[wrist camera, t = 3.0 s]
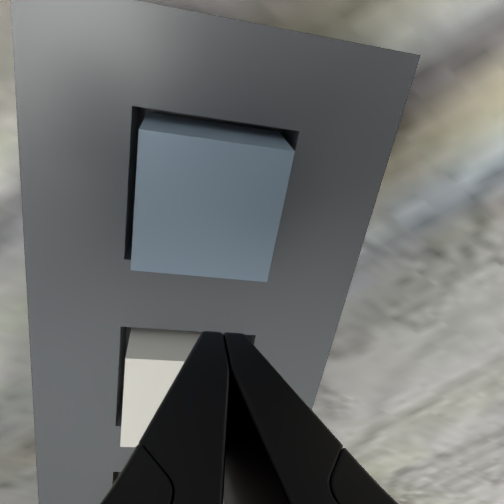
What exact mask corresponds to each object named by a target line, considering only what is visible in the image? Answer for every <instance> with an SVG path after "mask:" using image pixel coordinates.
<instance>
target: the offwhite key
mask: <svg viewBox="0 0 504 504" xmlns="http://www.w3.org/2000/svg"><path fill="white" fill-rule="evenodd" d="M201 333H202V332H197V331H181V330H166V329H150V328H135V327H131V332H130V337H129V342H128V347H127V352H126V357H125V372H124V389H123V406H122V423H121V439H120V447H136V446H137V445H138V444H139V441H140V439H141V437H142V436H143V434H144V432H145V430H146V429H147V427H148V425H149V423H150V422H151V420H152V418H153V416H154V415H155V413H156V411H157V409H158V408H159V406H160V404H161V402H162V401H163V399H164V397H165V395H166V394H167V392H168V390H169V388H170V387H171V385H172V383H173V381H174V380H175V378H176V376H177V374H178V373H179V371H180V369H181V367H182V366H183V364H184V362H185V360H186V359H187V357H188V355H189V353H190V352H191V350H192V348H193V346H194V345H195V343H196V341H197V339H198V338H199V336H200V334H201ZM222 334H224V333H222Z"/></svg>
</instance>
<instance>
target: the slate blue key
mask: <svg viewBox="0 0 504 504" xmlns="http://www.w3.org/2000/svg"><path fill="white" fill-rule="evenodd" d="M294 153H295V151H294V150H293V149H292V147H291V146H290V145H289V144H288V142H287V141H286V140H285V139H284V137H283V136H282V135H281V133H280V132H278V131H271V130H264V129H258V128H251V127H244V126H238V125H231V124H224V123H218V122H211V121H204V120H198V119H191V118H185V117H178V116H171V115H165V114H158V113H151V112H147V113H146V116H145V118H144V120H143V122H142V124H141V126H140V128H139V136H138V153H137V169H136V186H135V203H134V220H133V237H132V254H131V270H134V271H145V272H157V273H168V274H180V275H191V276H203V277H214V278H226V279H237V280H249V281H260V282H267V280H268V275H269V271H270V266H271V261H272V257H273V252H274V247H275V243H276V238H277V233H278V228H279V224H280V219H281V214H282V210H283V205H284V200H285V196H286V191H287V186H288V182H289V177H290V172H291V167H292V163H293V158H294Z"/></svg>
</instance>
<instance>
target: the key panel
mask: <svg viewBox="0 0 504 504" xmlns="http://www.w3.org/2000/svg"><path fill="white" fill-rule="evenodd" d="M10 1H11V19H12V37H13V54H14V72H15V90H16V107H17V125H18V143H19V160H20V178H21V196H22V213H23V231H24V249H25V266H26V284H27V302H28V319H29V337H30V355H31V372H32V390H33V408H34V425H35V443H36V461H37V478H38V496H39V504H100V503H101V501H102V500H103V498H104V497H105V496H106V494H107V493H108V491H109V490H110V489H111V487H112V486H113V484H114V482H115V481H116V479H117V478H118V476H119V474H120V473H121V471H122V470H123V468H124V466H125V465H126V463H127V461H128V460H129V458H130V456H131V454H132V453H133V451H134V449H135V447H120V439H121V423H122V406H123V389H124V372H125V357H126V352H127V347H128V342H129V337H130V332H131V327H135V328H150V329H166V330H181V331H197V332H203V331H215V332H221V333H225V332H231V333H243V334H244V335H245V336H246V337H247V338H248V339H249V340H250V341H251V342H252V343H253V345H254V346H255V347H256V348H257V349H258V350H259V351H260V352H261V354H262V355H263V356H264V357H265V358H266V359H267V360H268V361H269V363H270V364H271V365H272V366H273V367H274V368H275V369H276V371H277V372H278V373H279V374H280V375H281V376H282V377H283V378H284V380H285V381H286V382H287V383H288V384H289V385H290V386H291V387H292V389H293V390H294V391H295V392H296V393H297V394H298V395H299V396H300V398H301V399H302V400H303V401H304V402H305V403H306V404H307V406H308V407H309V408H310V409H311V410H312V407H313V404H314V400H315V397H316V394H317V391H318V387H319V384H320V381H321V378H322V374H323V371H324V368H325V365H326V361H327V358H328V355H329V352H330V348H331V345H332V342H333V339H334V335H335V332H336V329H337V326H338V322H339V319H340V316H341V312H342V309H343V306H344V303H345V299H346V296H347V293H348V290H349V286H350V283H351V280H352V277H353V273H354V270H355V267H356V264H357V260H358V257H359V254H360V251H361V247H362V244H363V241H364V238H365V234H366V231H367V228H368V224H369V221H370V218H371V215H372V211H373V208H374V205H375V202H376V198H377V195H378V192H379V189H380V185H381V182H382V179H383V176H384V172H385V169H386V166H387V163H388V159H389V156H390V153H391V150H392V146H393V143H394V140H395V136H396V133H397V130H398V127H399V123H400V120H401V117H402V114H403V110H404V107H405V104H406V101H407V97H408V94H409V91H410V88H411V84H412V81H413V78H414V75H415V71H416V68H417V65H418V62H419V58H420V55H416V54H411V53H405V52H400V51H395V50H390V49H385V48H380V47H375V46H369V45H364V44H359V43H354V42H349V41H344V40H338V39H333V38H328V37H323V36H318V35H313V34H308V33H302V32H297V31H292V30H287V29H282V28H277V27H271V26H266V25H261V24H256V23H251V22H246V21H241V20H235V19H230V18H225V17H220V16H215V15H210V14H204V13H199V12H194V11H189V10H184V9H179V8H174V7H168V6H163V5H158V4H153V3H148V2H143V1H137V0H10ZM147 112H151V113H158V114H165V115H171V116H178V117H185V118H191V119H198V120H204V121H211V122H218V123H224V124H231V125H238V126H244V127H251V128H258V129H264V130H271V131H278V132H280V133H281V135H282V136H283V137H284V139H285V140H286V141H287V142H288V144H289V145H290V146H291V147H292V149H293V150H294V151H295V153H294V158H293V163H292V167H291V172H290V177H289V182H288V186H287V191H286V196H285V200H284V205H283V210H282V214H281V219H280V224H279V228H278V233H277V238H276V243H275V247H274V252H273V257H272V261H271V266H270V271H269V275H268V280H267V282H260V281H249V280H237V279H226V278H214V277H203V276H191V275H180V274H168V273H157V272H145V271H134V270H131V254H132V237H133V220H134V203H135V186H136V169H137V153H138V136H139V128H140V126H141V124H142V122H143V120H144V118H145V116H146V113H147ZM223 504H224V500H223Z"/></svg>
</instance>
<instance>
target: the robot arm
mask: <svg viewBox="0 0 504 504" xmlns="http://www.w3.org/2000/svg"><path fill="white" fill-rule="evenodd" d="M342 448H343V445H342V444H341V443H340V442H339V441H338V439H337V438H336V437H335V436H334V435H333V434H332V433H331V431H330V430H329V429H328V428H327V427H326V426H325V425H324V424H323V422H322V421H321V420H320V419H319V418H318V417H317V416H316V415H315V413H314V412H313V411H312V410H311V409H310V408H309V407H308V406H307V404H306V403H305V402H304V401H303V400H302V399H301V398H300V396H299V395H298V394H297V393H296V392H295V391H294V390H293V389H292V387H291V386H290V385H289V384H288V383H287V382H286V381H285V380H284V378H283V377H282V376H281V375H280V374H279V373H278V372H277V371H276V369H275V368H274V367H273V366H272V365H271V364H270V363H269V361H268V360H267V359H266V358H265V357H264V356H263V355H262V354H261V352H260V351H259V350H258V349H257V348H256V347H255V346H254V345H253V343H252V342H251V341H250V340H249V339H248V338H247V337H246V336H245V335H244V334H243V333H231V332H225V333H224V334H222V333H221V332H215V331H203V332H202V333H201V334H200V336H199V338H198V339H197V341H196V343H195V345H194V346H193V348H192V350H191V352H190V353H189V355H188V357H187V359H186V360H185V362H184V364H183V366H182V367H181V369H180V371H179V373H178V374H177V376H176V378H175V380H174V381H173V383H172V385H171V387H170V388H169V390H168V392H167V394H166V395H165V397H164V399H163V401H162V402H161V404H160V406H159V408H158V409H157V411H156V413H155V415H154V416H153V418H152V420H151V422H150V423H149V425H148V427H147V429H146V430H145V432H144V434H143V436H142V437H141V439H140V441H139V444H138V445H137V446H136V447H135V449H134V451H133V453H132V454H131V456H130V458H129V460H128V461H127V463H126V465H125V466H124V468H123V470H122V471H121V473H120V474H119V476H118V478H117V479H116V481H115V482H114V484H113V486H112V487H111V489H110V490H109V491H108V493H107V494H106V496H105V497H104V498H103V500H102V501H101V503H100V504H223V500H224V504H398V503H397V502H396V501H395V500H394V499H393V498H392V497H391V496H390V495H389V494H388V493H387V492H386V491H385V490H384V489H383V488H382V487H381V486H380V485H379V484H378V483H377V482H376V481H375V480H374V479H373V478H372V477H371V476H370V475H369V474H368V473H367V471H366V470H365V469H364V468H363V467H362V466H361V465H360V464H359V463H358V462H357V461H356V459H355V458H354V457H353V456H352V455H351V454H350V453H349V452H348V450H347V449H346V448H343V449H342Z"/></svg>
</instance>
